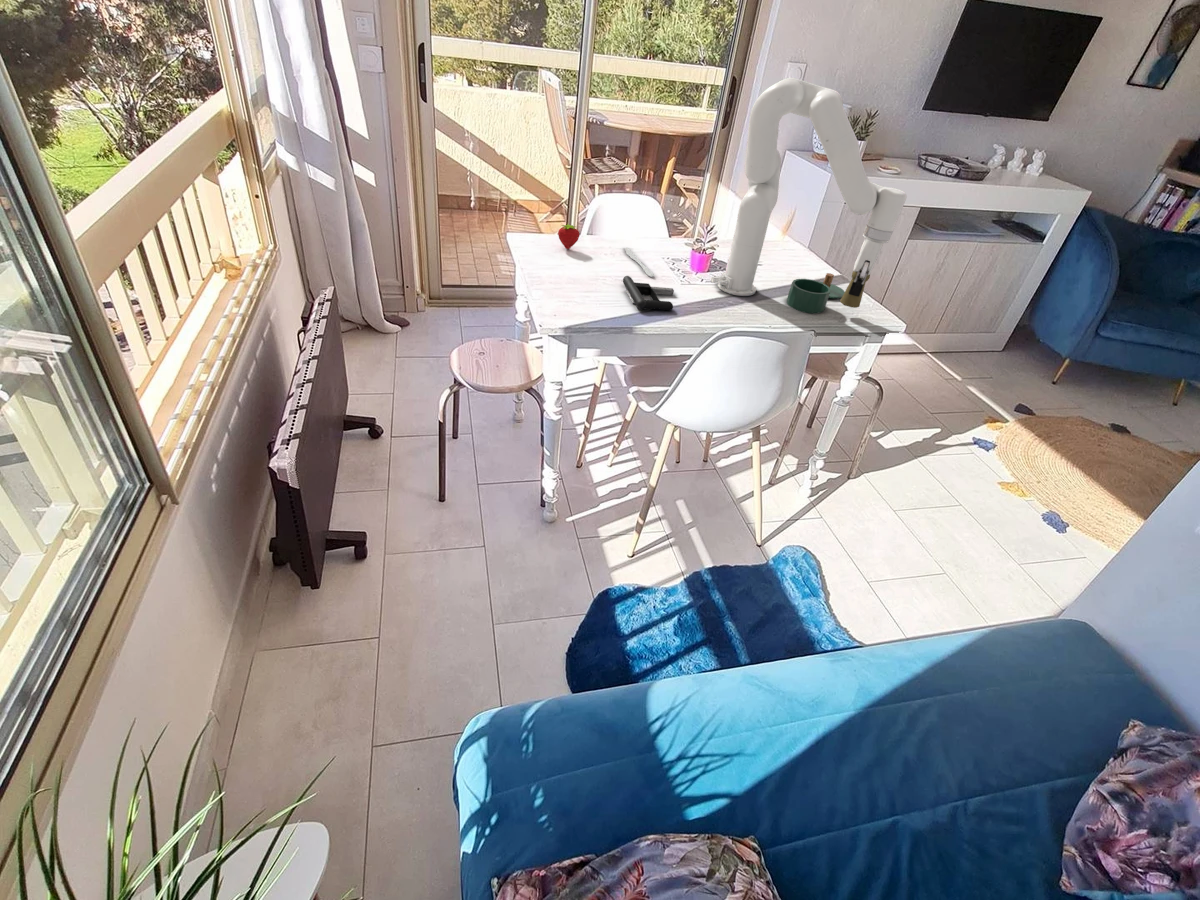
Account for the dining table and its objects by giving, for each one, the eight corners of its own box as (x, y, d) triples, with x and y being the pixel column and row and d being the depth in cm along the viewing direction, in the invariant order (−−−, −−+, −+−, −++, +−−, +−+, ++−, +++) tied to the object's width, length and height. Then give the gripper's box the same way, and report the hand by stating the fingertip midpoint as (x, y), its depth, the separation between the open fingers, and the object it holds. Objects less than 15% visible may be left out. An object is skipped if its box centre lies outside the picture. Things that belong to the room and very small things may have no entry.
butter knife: (647, 276, 205) (655, 275, 206) (622, 247, 226) (629, 247, 226) (647, 277, 206) (655, 277, 206) (621, 249, 226) (629, 248, 227)
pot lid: (820, 301, 205) (826, 283, 202) (797, 285, 215) (802, 267, 211) (851, 299, 210) (858, 281, 206) (828, 283, 219) (833, 266, 216)
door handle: (667, 278, 200) (619, 274, 196) (687, 305, 185) (635, 301, 181) (665, 288, 202) (617, 284, 198) (684, 315, 187) (633, 312, 183)
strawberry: (578, 253, 217) (580, 224, 211) (556, 251, 217) (558, 222, 211) (578, 247, 222) (581, 219, 216) (557, 245, 221) (559, 216, 215)
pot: (800, 314, 195) (807, 294, 191) (779, 298, 203) (785, 279, 200) (831, 312, 199) (838, 293, 195) (809, 296, 207) (815, 278, 204)
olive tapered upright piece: (860, 309, 193) (874, 275, 186) (841, 305, 194) (854, 271, 187) (858, 301, 198) (871, 268, 191) (839, 297, 198) (851, 264, 192)
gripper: (865, 223, 190) (843, 280, 201) (863, 238, 177) (839, 298, 188) (890, 229, 188) (867, 286, 199) (890, 244, 175) (865, 305, 186)
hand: (854, 291), depth 193 cm, fingers closed on olive tapered upright piece, 4 cm apart
